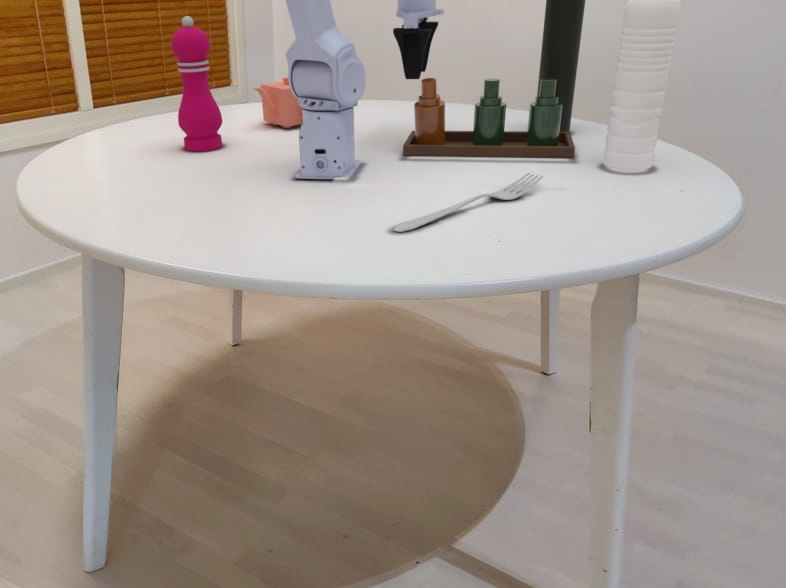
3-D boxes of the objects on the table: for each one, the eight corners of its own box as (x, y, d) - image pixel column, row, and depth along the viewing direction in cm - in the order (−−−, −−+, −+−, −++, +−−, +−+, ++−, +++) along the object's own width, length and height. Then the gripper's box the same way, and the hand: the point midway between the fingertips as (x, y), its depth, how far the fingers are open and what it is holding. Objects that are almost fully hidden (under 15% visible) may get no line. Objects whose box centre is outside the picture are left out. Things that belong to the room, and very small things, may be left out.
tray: (573, 162, 101) (574, 147, 100) (403, 159, 107) (403, 145, 106) (568, 145, 110) (570, 131, 109) (411, 143, 116) (412, 130, 114)
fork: (385, 228, 80) (385, 212, 79) (524, 185, 92) (526, 171, 92) (405, 235, 78) (405, 219, 77) (545, 190, 90) (546, 176, 89)
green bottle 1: (502, 152, 106) (508, 82, 101) (471, 151, 107) (475, 82, 102) (503, 145, 110) (508, 77, 105) (473, 144, 111) (476, 77, 106)
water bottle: (631, 176, 94) (668, -39, 82) (591, 167, 99) (620, -38, 86) (671, 165, 98) (712, -42, 86) (631, 156, 103) (664, -41, 90)
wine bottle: (564, 128, 121) (588, -78, 106) (573, 136, 116) (599, -79, 101) (530, 129, 121) (549, -76, 106) (537, 137, 116) (559, -78, 101)
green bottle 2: (558, 152, 104) (566, 81, 99) (526, 152, 105) (532, 81, 100) (556, 145, 108) (564, 76, 103) (525, 145, 109) (531, 77, 104)
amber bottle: (443, 151, 107) (442, 83, 102) (413, 151, 109) (410, 84, 103) (447, 140, 111) (446, 75, 105) (418, 140, 112) (416, 76, 106)
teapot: (241, 125, 134) (236, 78, 130) (307, 114, 141) (305, 69, 137) (272, 135, 125) (268, 85, 121) (341, 122, 132) (340, 75, 128)
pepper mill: (229, 142, 122) (215, 13, 112) (219, 152, 116) (203, 16, 106) (188, 142, 123) (171, 15, 113) (176, 152, 116) (156, 18, 107)
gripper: (439, -23, 97) (436, 82, 104) (448, -26, 109) (445, 68, 116) (389, -21, 99) (389, 82, 105) (403, -24, 111) (402, 68, 118)
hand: (415, 75), depth 111 cm, fingers open, 7 cm apart
